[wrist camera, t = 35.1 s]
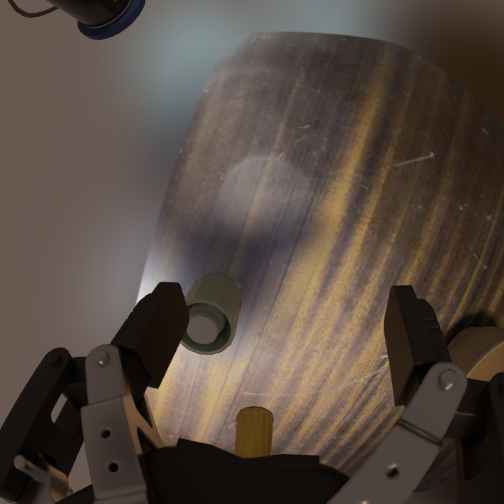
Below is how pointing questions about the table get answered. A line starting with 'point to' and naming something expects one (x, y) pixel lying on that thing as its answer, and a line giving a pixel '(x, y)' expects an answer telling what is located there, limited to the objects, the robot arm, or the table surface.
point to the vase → (254, 433)
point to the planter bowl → (478, 352)
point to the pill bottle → (205, 323)
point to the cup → (225, 299)
